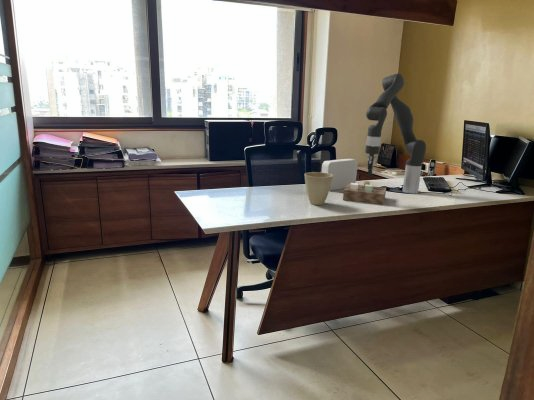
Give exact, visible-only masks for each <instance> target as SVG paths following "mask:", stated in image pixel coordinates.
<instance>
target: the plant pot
mask: <svg viewBox="0 0 534 400" xmlns="http://www.w3.org/2000/svg"><path fill="white" fill-rule="evenodd" d="M332 177H333V175H332V174H329V173H322V171H320V172H318V171H312V172H311V171H310V172H305V173H304V182H305V183H304V184H305V189H306V193H307V197H308V201H309V203H310V205H313V206H323V205H324V204H325V202H326V200H327V197H328V196H329V195H328V194H329V192H330V191H329V189H330V186H331V182H332Z"/></svg>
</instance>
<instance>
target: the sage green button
mask: <svg viewBox="0 0 534 400" xmlns="http://www.w3.org/2000/svg"><path fill="white" fill-rule="evenodd" d="M373 187H374V185H373V184H370V185H367V184H366V185H365V190H364V191H367V192H372V189H373Z"/></svg>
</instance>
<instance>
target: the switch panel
mask: <svg viewBox="0 0 534 400" xmlns="http://www.w3.org/2000/svg"><path fill="white" fill-rule="evenodd" d="M364 190H365V187H364V184H363V185H362V184H361V185H360V184H358V190H350V184H348V185H347V186H346V188H343V195H342V196H343V197H342V201H345V202H355V203H364V204H370V205H371V204H372V205H382V206H384V204H385V201H386V194H387V193H386V192H387V187H380V186H373V189H372V192H367V191H364Z"/></svg>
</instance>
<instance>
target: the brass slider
mask: <svg viewBox="0 0 534 400" xmlns="http://www.w3.org/2000/svg"><path fill="white" fill-rule="evenodd" d="M366 184H367V185H371V180H364V182H363V186H364V187H365V185H366Z"/></svg>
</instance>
